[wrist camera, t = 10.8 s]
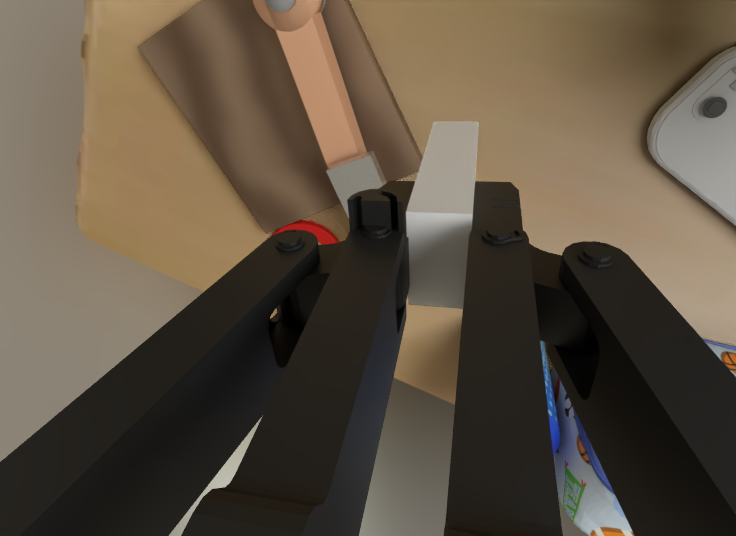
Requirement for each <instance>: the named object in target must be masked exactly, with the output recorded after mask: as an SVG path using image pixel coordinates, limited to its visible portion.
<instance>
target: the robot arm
mask: <svg viewBox="0 0 736 536" xmlns="http://www.w3.org/2000/svg"><path fill="white" fill-rule="evenodd" d="M478 129H479V121H434V123H433V126H432V129H431V132H430V136H429V139H428V142H427V145H426V148H425V152H424V155H423V158H422V161H421V165H420V168H419V171H418V174H417V178H416V181H389V182H387V183H386V184H385V185H383V186H382V187H380V188H379V189H368V190H364V191H359V192H357V193H355V194H353V195H351V196H350V197H349V198H348V199H347V203H348V213H349V222H350V232H349V234H348V236H347V238H346V240H345V241H342V242H337V243H332V244H324V245H318V240H317V237H316V236H315V235H314V234H313V233H312V232H309V231H306V230H297V229H291V230H285V231H283V232H280V233H277V234H275V235H273V236H272V237H270V238H268V239H267V240H266V241H265V242H263V243H262V244H261V245H260V246H259V247H257V248H256V249H255V250H254V251H253V252H251V253H250V254H249V255H248V256H247V257H245V258H244V259H243V260H242V261H241V262H239V263H238V264H237V265H236V266H235V267H233V268H232V269H231V270H230V271H229V272H227V273H226V274H225V275H224V276H223V277H221V278H220V279H219V280H218V281H217V282H215V283H214V284H213V285H212V286H211V287H209V288H208V289H207V290H206V291H205V292H204V293H202V294H201V295H200V296H199V297H197V298H196V299H195V300H194V301H193V302H192V303H190V304H189V305H188V306H187V307H186V308H184V309H183V310H182V311H181V312H180V313H178V314H177V315H176V316H175V317H174V318H172V319H171V320H170V321H169V322H168V323H166V324H165V325H164V326H163V327H162V328H160V329H159V330H158V331H157V332H156V333H154V334H153V335H152V336H151V337H150V338H148V339H147V340H146V341H145V342H144V343H142V344H141V345H140V346H139V347H138V348H136V349H135V350H134V351H133V352H132V353H131V354H129V355H128V356H127V357H126V358H124V359H123V360H122V361H121V362H120V363H119V364H117V365H116V366H115V367H114V368H112V369H111V370H110V371H109V372H108V373H107V374H105V375H104V376H103V377H102V378H100V379H99V380H98V381H97V382H96V383H94V384H93V385H92V386H91V387H90V388H88V389H87V390H86V391H85V392H84V393H82V394H81V395H80V396H79V397H78V398H76V399H75V400H74V401H73V402H72V403H70V404H69V405H68V406H67V407H66V408H64V409H63V410H62V411H61V412H60V413H58V414H57V415H56V416H55V417H54V418H52V420H50V421H49V422H48V423H47V424H46V425H44V426H43V427H42V428H41V429H39V430H38V431H37V432H36V433H35V434H33V435H32V436H31V437H30V438H29V439H27V440H26V441H25V442H24V443H23V444H21V445H20V446H19V447H18V448H17V449H15V450H14V451H13V452H12V453H11V454H9V455H8V456H7V457H6V458H5V459H3V460H2V461H1V462H0V536H169V534H170V533H171V532H172V530H173V529H174V528H175V527H176V525H177V524H178V523H179V522H180V520H181V519H182V518H183V516H184V515H185V514H186V513H187V511H188V510H189V509H190V507H191V506H192V505H193V503H194V502H195V501H196V500H197V499H198V497H199V496H200V495H201V493H202V492H203V491H204V490H205V488H206V487H207V486H208V484H209V483H210V482H211V481H212V479H213V478H214V477H215V475H216V474H217V473H218V472H219V470H220V469H221V468H222V467H223V465H224V464H225V463H226V461H227V460H228V459H229V457H230V456H231V455H232V454H233V452H234V451H235V450H236V449H237V447H238V446H239V445H240V443H241V442H242V441H243V440H244V438H245V437H246V436H247V435H248V433H249V432H250V431H251V429H252V428H253V427H254V426H255V424H256V423H257V422H258V420H259V419H260V418H261V417H262V415H263V417H262V419H261V421H260V423H259V425H258V427H257V429H256V432H255V434H254V436H253V438H252V440H251V442H250V444H249V446H248V448H247V450H246V453H245V455H244V457H243V459H242V461H241V463H240V465H239V467H238V470H237V472H236V474H235V476H234V477H233V479H232V481H231V482H230V484H228V485H227V486H226V487H225V488H218V489H212V490H211V491H210V492H208V493H207V494H206V495H205V496H204V497H203V498H202V500H201V501H200V503H199V504H198V506H197V507H196V509H195V511H194V512H193V514H192V516H191V518H190V520H189V522H188V524H187V525H186V528H185V529H184V531H183V533H182V535H181V536H359V532H360V527H361V522H362V518H363V513H364V509H365V504H366V499H367V495H368V490H369V485H370V481H371V476H372V472H373V467H374V462H375V458H376V453H377V449H378V444H379V440H380V435H381V431H382V426H383V421H384V417H385V412H386V408H387V403H388V399H389V394H390V389H391V385H392V380H393V376H394V371H395V367H396V362H397V358H398V353H399V349H400V344H401V339H402V335H403V330H404V326H405V321H406V299H407V295H408V300H409V304H410V305H423V306H436V307H449V308H462V309H463V316H462V328H461V340H460V353H459V365H458V377H457V390H456V402H455V414H454V426H453V439H452V451H451V464H450V476H449V488H448V501H447V513H446V523H445V529H444V536H563V534H562V527H561V518H560V510H559V501H558V492H557V483H556V474H555V466H554V457H553V448H552V439H551V431H550V422H549V413H548V404H547V396H546V387H545V378H544V370H543V361H542V352H541V343H540V340H541V341H544V342H546V343H545V345H546V351H547V353H548V355H549V358H550V360H551V362H552V364H553V366H554V368H555V370H556V372H557V374H558V376H559V379H560V381H561V383H562V385H563V387H564V389H565V391H566V393H567V395H568V397H569V399H570V402H571V404H572V406H573V408H574V410H575V412H576V414H577V416H578V418H579V420H580V423H581V425H582V427H583V429H584V431H585V433H586V435H587V437H588V439H589V441H590V444H591V446H592V448H593V450H594V452H595V454H596V456H597V458H598V460H599V462H600V464H601V467H602V469H603V471H604V473H605V475H606V477H607V479H608V481H609V483H610V485H611V488H612V490H613V492H614V494H615V496H616V498H617V500H618V502H619V504H620V506H621V508H622V511H623V513H624V515H625V517H626V519H627V521H628V523H629V525H630V527H631V529H632V532H633V534H634V536H736V376H735V375H734V374H733V373H732V372H731V371H730V370H729V369H728V367H727V366H726V365H725V364H724V363H723V362H722V361H721V360H720V358H719V357H718V356H717V355H716V354H715V353H714V352H713V350H712V349H711V348H710V347H709V346H708V345H707V344H706V343H705V341H704V340H703V339H702V338H701V337H700V336H699V335H698V334H697V332H696V331H695V330H694V329H693V328H692V327H691V326H690V325H689V323H688V322H687V321H686V320H685V319H684V318H683V317H682V316H681V314H680V313H679V312H678V311H677V310H676V309H675V308H674V307H673V305H672V304H671V303H670V302H669V301H668V300H667V299H666V298H665V296H664V295H663V294H662V293H661V292H660V291H659V290H658V289H657V287H656V286H655V285H654V284H653V283H652V282H651V281H650V280H649V278H648V277H647V276H646V275H645V274H644V273H643V272H642V271H641V269H640V268H639V267H638V266H637V265H636V264H635V263H634V261H633V260H632V259H631V258H630V257H629V256H628V255H627V254H626V253H624V252H623V251H622V250H620V249H618V248H616V247H614V246H611V245H609V244H606V243H600V242H595V241H593V242H578V243H573V244H571V245H570V246H568V247H566V248H565V250H564V252H563V254H562V256H561V255H557V254H553V253H549V252H545V251H542V250H540V249H538V248H535V247H534V246H532V245H531V244H529V238H528V236H527V234H526V232H524V231H523V227H522V217H521V208H520V198H519V190H518V189H517V188H516V187H515V186H514V185H513V184H512V183H511V182H476V181H475V178H476V161H477V145H478ZM275 308H277V314H276V315H275V316H274V317H273V318H271V319H270V316H271V314H272V313H273V311H274V310H275Z"/></svg>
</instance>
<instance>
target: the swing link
mask: <svg viewBox="0 0 736 536" xmlns="http://www.w3.org/2000/svg"><path fill="white" fill-rule="evenodd" d="M253 3H254V6H255V8H256V11H257V12H258V14H259V16H260V17H261V18H262V19H263V20H264V22H265V23H267V24H268V25H269V26H271V27H272V28H274V29H276V32H277V35H278V37H279V40H280V43H281V45H282V48H283V51H284V53H285V56H286V59H287V61H288V64H289V66H290V69H291V72H292V74H293V77H294V80H295V82H296V85H297V88H298V90H299V93H300V96H301V98H302V101H303V104H304V106H305V109H306V111H307V114H308V117H309V119H310V122H311V125H312V127H313V130H314V133H315V135H316V138H317V141H318V143H319V146H320V149H321V151H322V154H323V156H324V159H325V162H326V164H327V167H329V165H332V164H335V163H337V162H340V161H343V160H346V159H349V158H352V157H355V156H358V155H361V154H363V153H366V152H367V151H366V148H365V145H364V142H363V139H362V136H361V133H360V130H359V127H358V124H357V121H356V118H355V114H354V111H353V108H352V105H351V102H350V99H349V96H348V93H347V90H346V87H345V84H344V81H343V78H342V75H341V72H340V69H339V66H338V63H337V60H336V57H335V53H334V50H333V47H332V44H331V41H330V38H329V35H328V32H327V29H326V26H325V23H324V20H323V17H322V14H321V10H322V8H323V5H324V0H253Z"/></svg>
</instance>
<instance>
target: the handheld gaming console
mask: <svg viewBox="0 0 736 536" xmlns="http://www.w3.org/2000/svg"><path fill="white" fill-rule="evenodd" d="M647 144H648V150H649V152H650V154H651V156H652V157H653V158H654V159H655V161H656V162H657V163H658V164H659V165H660V166H661V167H663V168H664V169H665V170H666V171H667V172H669V173H670V174H672V175H673V176H674V177H675V178H677V179H678V180H679V181H680V182H681V183H683V184H684V185H685V186H687V187H688V188H689V189H690V190H691V191H692V192H694V193H695V194H697V195H698V196H699V197H700V198H702V199H703V200H704V201H705V202H706V203H708V204H709V205H710V206H712V207H713V208H714V209H715V210H716V211H718V212H719V213H720V214H721V215H723V216H724V217H725V218H726V219H728V220H729V221H730V222H731V223H733V224H734V225H735V226H736V46H735V47H731V48H729V49H727V50H725V51H723V52H721V53H719V54H718V55H717V56H715V57H714V58H712V59H711V60H710V61H709V62H708V63H707V64H706V65H705V66H704V67H703V68H702V69H701V70H700V71H699V72H698V73H697V74H695V75H694V76H693V77H692V78H691V79H690V80H689V81H688V82H687V83H686V84H685V85H684V86H683V87H682V88H681V89H680V90H679V91H677V92H676V93H675V94H674V95H673V96H672V97H671V98H670V99H669V100H668V101H667V102H666V103H665V104H664V105H663V106H662V107H661V108H660V109H659V110H658V112H657V113H656V114H655V116H654V117H653V119H652V121H651V124H650V126H649V128H648V134H647Z"/></svg>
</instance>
